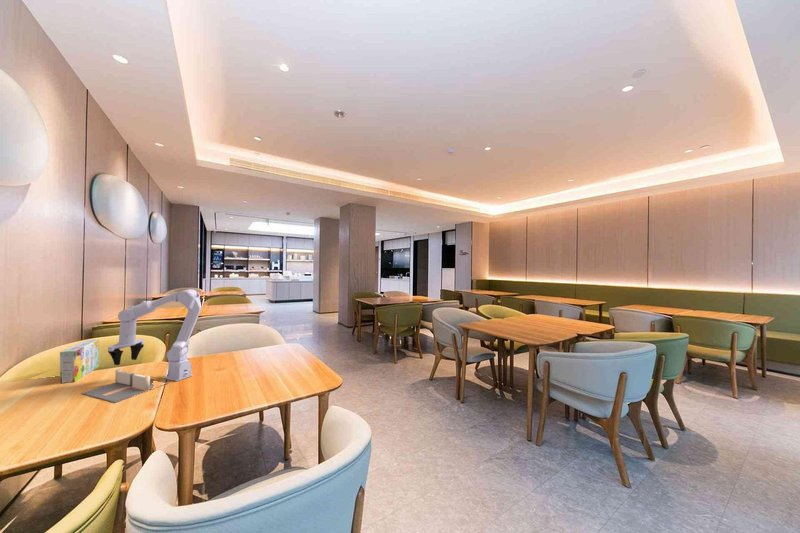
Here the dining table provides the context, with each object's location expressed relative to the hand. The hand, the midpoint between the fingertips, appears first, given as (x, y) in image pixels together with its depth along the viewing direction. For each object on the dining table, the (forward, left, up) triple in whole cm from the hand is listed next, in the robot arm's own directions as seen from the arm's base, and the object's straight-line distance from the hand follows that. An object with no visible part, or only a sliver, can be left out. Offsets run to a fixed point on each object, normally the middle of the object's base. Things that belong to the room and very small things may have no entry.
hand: (125, 362), depth 136 cm
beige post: (-5, +3, -8) cm, 10 cm away
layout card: (-10, +5, -9) cm, 14 cm away
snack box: (+28, +3, -10) cm, 30 cm away
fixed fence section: (-16, +3, -9) cm, 18 cm away
